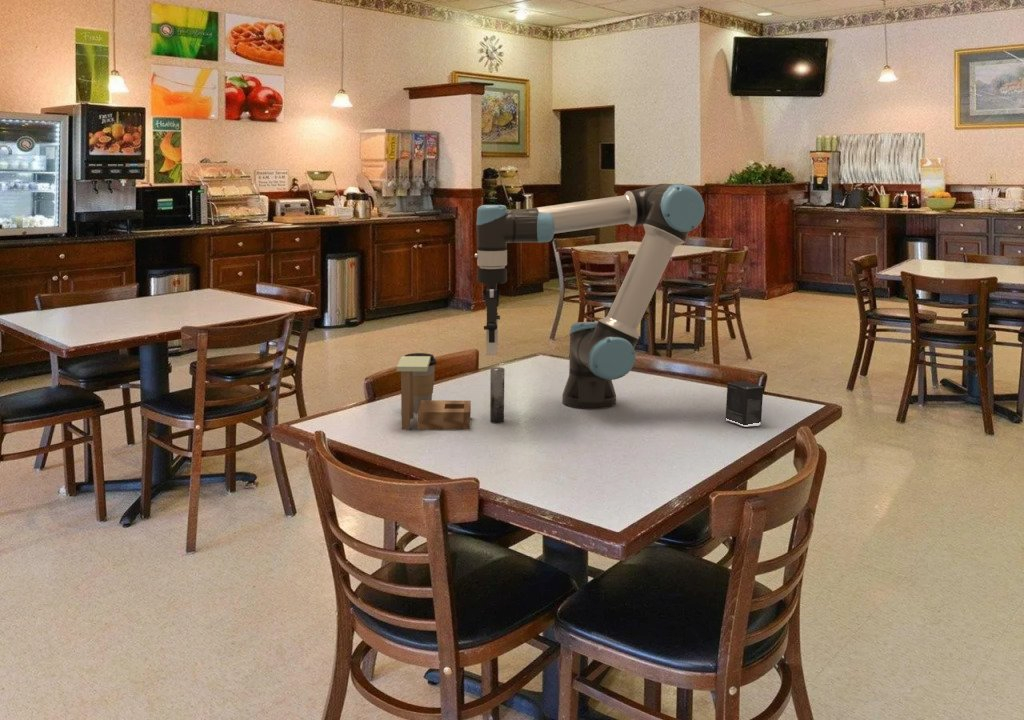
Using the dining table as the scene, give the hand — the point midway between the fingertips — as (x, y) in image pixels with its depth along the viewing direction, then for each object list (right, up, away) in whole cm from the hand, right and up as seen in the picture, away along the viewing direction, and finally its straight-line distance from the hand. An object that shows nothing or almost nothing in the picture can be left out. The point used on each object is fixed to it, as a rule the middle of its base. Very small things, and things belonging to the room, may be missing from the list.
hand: (492, 349), depth 240 cm
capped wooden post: (-20, -19, +1) cm, 27 cm away
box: (+65, -19, +4) cm, 68 cm away
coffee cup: (-20, -16, +14) cm, 29 cm away
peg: (+1, -19, +3) cm, 19 cm away
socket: (-13, -19, +1) cm, 23 cm away
